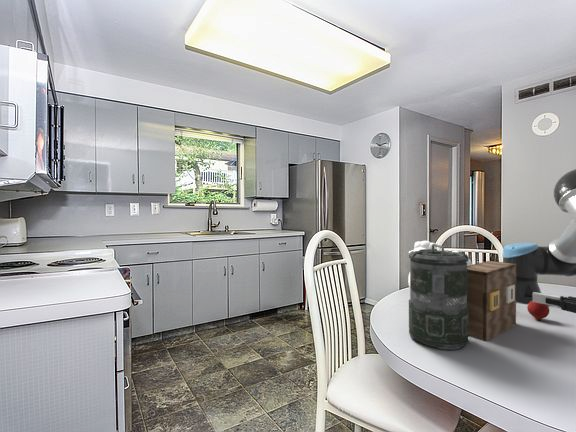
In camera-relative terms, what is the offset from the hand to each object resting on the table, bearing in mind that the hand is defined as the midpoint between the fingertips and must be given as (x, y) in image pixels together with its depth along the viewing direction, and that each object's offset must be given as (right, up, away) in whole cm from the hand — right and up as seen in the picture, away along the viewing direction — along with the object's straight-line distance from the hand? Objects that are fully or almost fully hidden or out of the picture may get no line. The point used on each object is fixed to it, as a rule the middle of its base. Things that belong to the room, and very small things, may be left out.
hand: (533, 296), depth 92 cm
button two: (-14, -3, 0) cm, 14 cm away
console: (-10, -11, +5) cm, 16 cm away
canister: (-30, -12, -2) cm, 33 cm away
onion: (+11, -11, +12) cm, 20 cm away
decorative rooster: (-11, -11, +34) cm, 38 cm away
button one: (-4, -3, +7) cm, 9 cm away
